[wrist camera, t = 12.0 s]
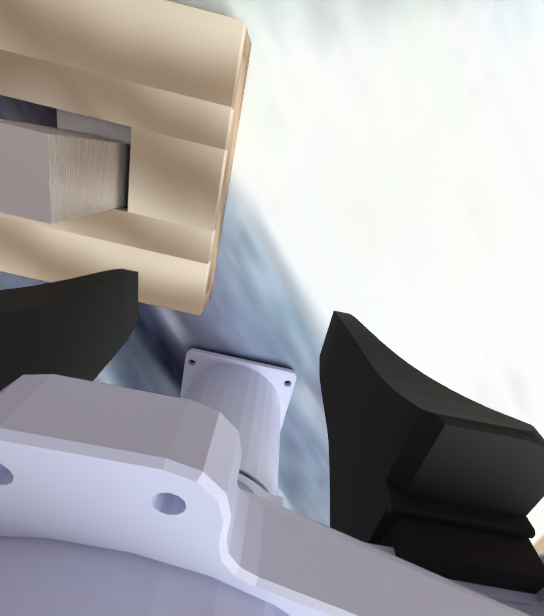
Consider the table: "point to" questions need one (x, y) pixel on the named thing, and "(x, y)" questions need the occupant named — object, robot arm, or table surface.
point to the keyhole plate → (133, 135)
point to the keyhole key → (63, 167)
